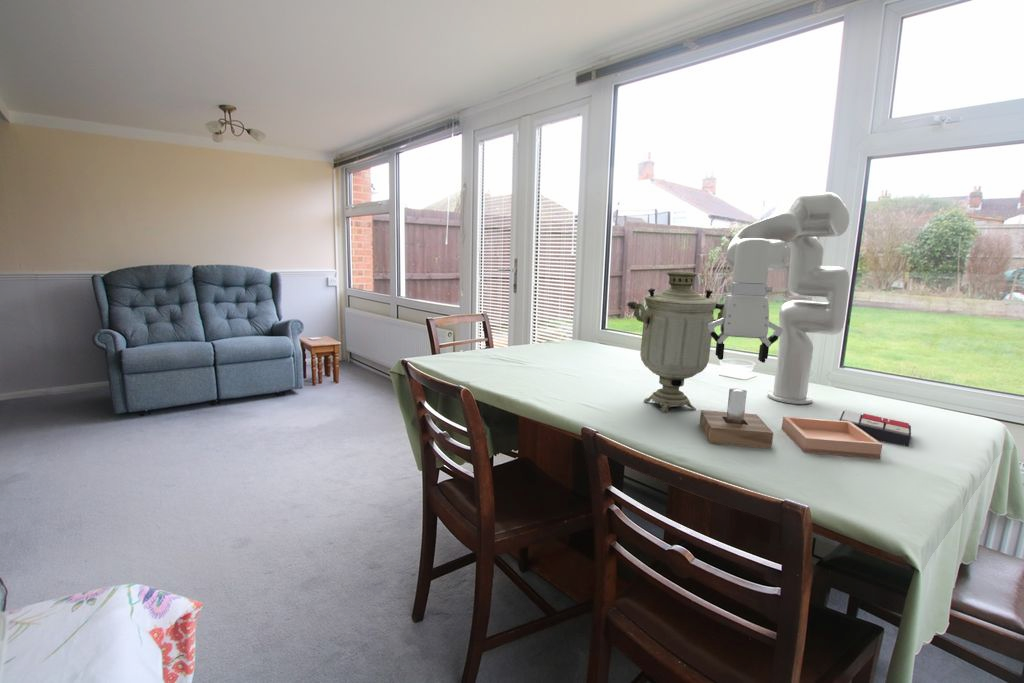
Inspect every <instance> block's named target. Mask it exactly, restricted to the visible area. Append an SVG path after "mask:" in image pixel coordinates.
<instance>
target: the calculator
mask: <svg viewBox="0 0 1024 683" xmlns="http://www.w3.org/2000/svg"><path fill="white" fill-rule="evenodd" d="M838 421H850V422H851V423H853V424H854V425H856V426H857V427H859V428H860V429H861V430H863V431H864V432H866V433H867V434H869V435H870V436H871V437H873V438H874V439H876V440H877V441H878V442H883V441H884V442H883V443H890V444H894V445H899V446H905V447H909V446H910V442H911V439H912V427H911V426H912V425H910V422H909V423H908V422H904V421H900V420H896V419H890V418H886V417H881V416H877V415H871V414H868V413H863V414H862V413H860V412H856V411H850V410H847V409H845V410H843V411H842V413H841V415H840V418H839V420H838Z"/></svg>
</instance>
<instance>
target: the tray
mask: <svg viewBox="0 0 1024 683" xmlns="http://www.w3.org/2000/svg"><path fill="white" fill-rule="evenodd" d="M781 422H782V424H781V430H782V431H783V432H784V433H785V434H786V435H787V437H789V438H790V440H791V441H793V442H794V444H796V445H797V447H798V448H799V449H801V451H802V452H803V453H811V454H822V455H831V454H832V455H831V456H842V457H844V456H845V457H854V456H855V457H854V458H857V457H858V458H867V459H878V460H880V459H881V456H882V449H883V443H882V442H881V441H878V440H876V439H874V438H873V437H871V436H870V435H869V434H867V433H866V432H864V431H863V430H861V429H860V428H859V427H857V426H856V425H854V424H853V423H851V422H850V421H839V420H836V419H824V418H821V419H820V418H810V417H808V418H807V417H798V416H797V417H796V416H795V417H794V416H784V415H783V416H782V421H781Z"/></svg>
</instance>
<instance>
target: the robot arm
mask: <svg viewBox="0 0 1024 683" xmlns="http://www.w3.org/2000/svg"><path fill="white" fill-rule="evenodd" d="M849 224H850V213H849V210H848V208H847V206H846V204H845V203H844V202H843V200H842V198H841V197H840V196H839V195H837V194H836V193H834V192H830V191H823V192H804V193H803V192H802V193H801V192H800V193H794V194H790V195H788V196H787V197H785V198H784V199H782V201H781V202H780V203H779V205H778V206H777V207H776V209H775V210H774V211H773V213H772V214H771V215H770V216H769V217H766V218H764V219H761V220H759V221H756V222H754V223H751V224H749V225H747V226H745V227H743V228H742V229H741V230H739V231H738V232H737V234H736V235H735V236H734V237H733V238H732V240H731V241H730V242H729V245H728V247H727V250H726V256H725V257H726V262H727V263H728V265H729V266H730V267H731V268H733V273H732V274H733V275H732V281H731V282H732V283H731V292H730V294H727V295H726V299H725V302H724V304H725V305H724V309H723V314H722V318H721V319H719V320H717V319H715V320H716V321H714V322H711V323H709V324H707V328H708V331H709V333H710V335H711V336H712V338H713V340H714V341H715V342H716V345H715V356H716V357H717V359H718V360H720V361H721V360H723V359H724V356H725V355H724V353H725V343H724V342H725V341H726V340H727V339H728V338H729V337H731V338H743V339H744V338H746V339H759V340H760V342H761V344H760V345H759V348H758V349H759V350H758V359H757V360H758V361H759V362H760V363H763V364H764V363H766V360H767V359H768V357H769V348H770V347H771V346H772V345H773V343H775V342H777V341H778V340H779V341H778V348H777V349H778V350H777V358H776V367H775V374H774V375H775V376H774V384H773V389H772V390H769V391H768V392H767V397H768V398H770V399H772V400H775V401H778V402H781V403H784V404H785V403H786V404H792V405H807V404H811V403H812V402H813V397H812V396H810V395H809V394H808V391H809V384H810V375H811V370H812V369H811V368H812V360H813V352H814V346H813V342H812V340H811V339H810V337H809V336H808V334H807V333H810V334H811V333H812V334H820V335H831V336H832V335H837V334H840V333H841V332H842V330H843V328H844V325H845V322H846V315H847V304H848V298H849V291H850V274H849V271H847V269H846V268H844V267H841V266H835V265H834V266H833V265H831V266H830V265H825V266H824V265H823V256H824V246H823V245H822V243H821V242H820V240H819V239H818V238H820V237H822V238H824V237H826V238H827V237H828V238H833V237H835V238H836V237H840V236H842V235H843V234H844V233H845V232H846V231H847V229H848V227H849ZM788 263H789V270H788V279H787V280H788V281H787V288H788V289H787V290H788V292H789V293H790V294H791V295H793V296H797V297H806V298H807V297H808V298H820V299H826V300H827V302H819V301H812V300H790V301H786V302H785V303H783V304H782V305H781V306H780V308H779V314H778V321H779V326H778V325H777V324H775V323H773V322H771V321H770V307H769V306H770V305H769V297H768V296H766V295H767V293H768V294H769V293H772V292H773V290H774V289H773V286H769V285H768V275H769V271H777V270H781V269H783V268H784V267H785V266H787V264H788ZM719 326H720V328H719V329H720V333H719V334H717V332H716V331H715V328H717V327H719ZM769 329H771V330H773V333H772V335H770V336H769V337H767V336H768V333H769Z"/></svg>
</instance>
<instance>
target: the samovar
mask: <svg viewBox="0 0 1024 683" xmlns="http://www.w3.org/2000/svg"><path fill="white" fill-rule="evenodd" d="M665 274H666V275H667V276H668V277H669V279H668V284H669V285H670V288H666V289H664V290H663V291H662V292H657V293H655V290H656V288H649V289H648V290H647V291H648V293H649V294H646V295H644V299H645V300H644V302H645V305H646V306H644V305H643V304H642V303H637V302H635V301H628V303H627V304H626V305H627V307H629V308H631V309H632V310H633V316H634V317H635V319H636V320H637V321H638V322H641V323H643V325H642V336H641V344H640V345H641V346H640V354H639V355H640V359H641V361H642V363H643V366H645V367H646V368H647V369H648V370H649V371H650V372H652V374H655V375H656V376H658V377H659V380H658V382H659V384H660V385H662V387H661V388H659V389H657V390H655V391H654V392H652V394H650V396H649V397H645V398H644V400H643V403H647V402H651V400H652V402H654V403H657V404H659V405H660V406H661V408H660V412H661V413H663V414H664V413H669V409H670V408H672V407H673V408H674V407H683V406H687V407H688V408H690V409H691V410H692V411H697V408H696V407H695V406H694V405H692V404H691V402H690V399H689V398H688V396H687V395H685V392H683V391H681V390H680V388H681V387H683V386H684V385H685V380H686V379H690V378H693V377H695V376H696V375H697V374H699V373H702V372H703V371H704V370H705V369H706V368H707V367H708V364H709V362H710V355H711V346H712V338H713V337H712V336H711V335H710V333H709V331H708V328H707V324H709V323H711V322H714V321H716V320H719V319H721V318H722V314H723V309H724V305H725V303H723V304H722V303H718V302H717V300H715V299H714V298H712V297H711V295H712V294H713V293H714V291H712V290H711V289H705V292H706V296H703V295H700V294H699V292H697V291H695V290H693V289H692V287H693V285H694V283H695V278H696V276H698V275H699V273H698V272H689V271H666V272H665ZM710 297H711V298H710ZM645 307H646V308H645ZM715 310H720V311H719V312H718V313H717V318H716V319H715V316H714V312H715Z"/></svg>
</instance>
